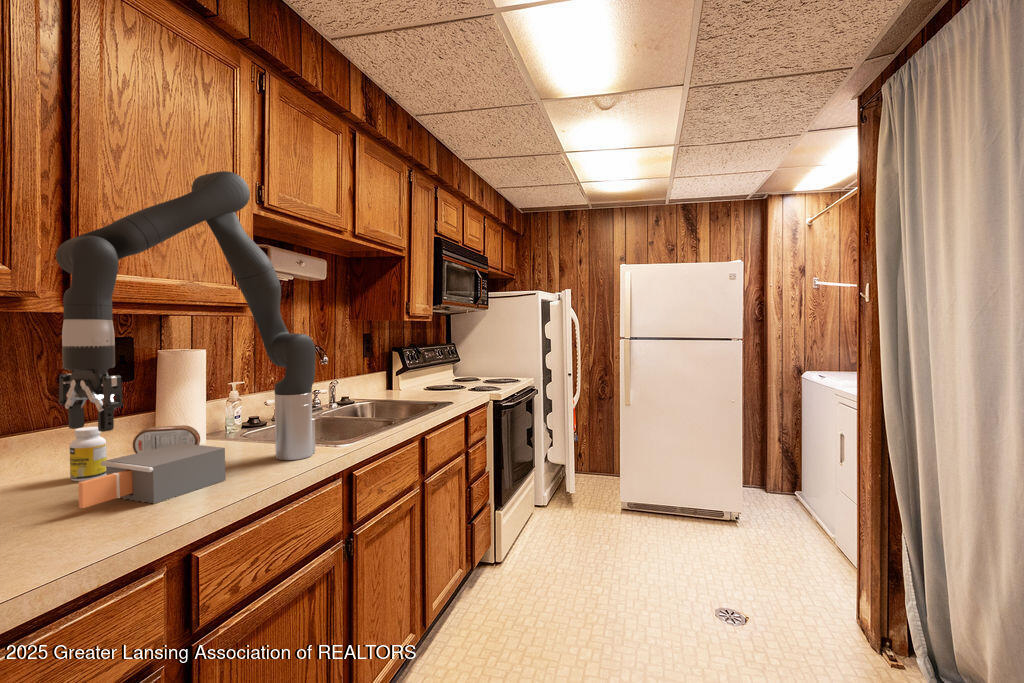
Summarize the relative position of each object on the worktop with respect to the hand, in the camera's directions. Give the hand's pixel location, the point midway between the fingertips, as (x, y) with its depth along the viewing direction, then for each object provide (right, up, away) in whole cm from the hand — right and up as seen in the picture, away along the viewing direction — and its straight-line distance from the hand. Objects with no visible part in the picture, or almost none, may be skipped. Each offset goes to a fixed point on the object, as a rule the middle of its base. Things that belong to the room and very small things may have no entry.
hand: (90, 429), depth 93 cm
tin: (-14, -15, +40) cm, 45 cm away
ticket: (+2, -14, +7) cm, 16 cm away
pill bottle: (-19, -15, +22) cm, 33 cm away
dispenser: (+5, -15, +14) cm, 21 cm away
